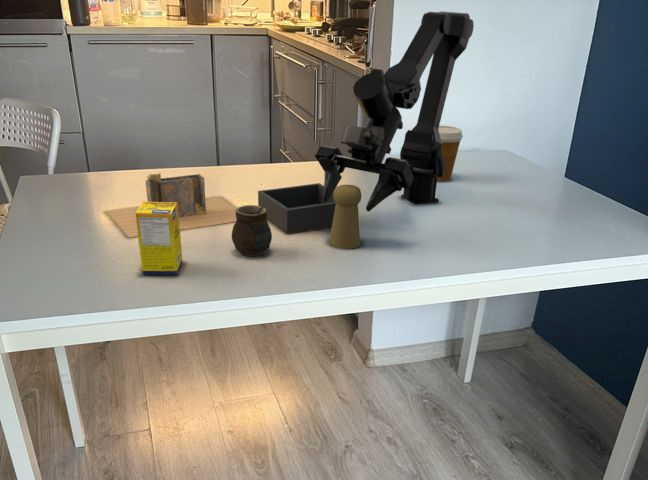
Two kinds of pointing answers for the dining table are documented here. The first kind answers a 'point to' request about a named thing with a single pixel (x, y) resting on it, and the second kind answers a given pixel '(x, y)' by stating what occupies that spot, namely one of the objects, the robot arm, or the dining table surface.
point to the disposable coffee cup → (449, 148)
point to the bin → (298, 207)
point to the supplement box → (159, 238)
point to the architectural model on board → (180, 203)
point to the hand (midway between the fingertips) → (345, 205)
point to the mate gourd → (251, 230)
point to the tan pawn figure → (346, 217)
